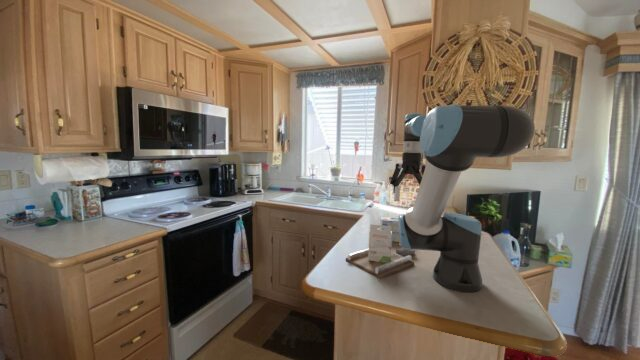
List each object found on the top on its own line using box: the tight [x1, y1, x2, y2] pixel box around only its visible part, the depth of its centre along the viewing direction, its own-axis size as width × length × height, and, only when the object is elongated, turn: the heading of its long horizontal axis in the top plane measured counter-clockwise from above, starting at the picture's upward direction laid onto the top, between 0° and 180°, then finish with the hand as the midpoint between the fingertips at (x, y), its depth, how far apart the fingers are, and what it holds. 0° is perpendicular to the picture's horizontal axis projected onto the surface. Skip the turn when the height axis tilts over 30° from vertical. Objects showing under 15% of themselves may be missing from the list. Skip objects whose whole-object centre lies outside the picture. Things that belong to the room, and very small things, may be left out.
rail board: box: [345, 252, 415, 279], centre depth 105 cm, size 18×20×1 cm
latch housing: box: [395, 246, 416, 257], centre depth 115 cm, size 6×6×2 cm
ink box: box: [368, 223, 393, 263], centre depth 104 cm, size 9×5×15 cm, turn 70°
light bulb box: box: [379, 216, 400, 243], centre depth 132 cm, size 11×7×11 cm, turn 84°
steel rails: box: [347, 247, 413, 274], centre depth 105 cm, size 15×20×2 cm
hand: (408, 203), depth 112 cm, fingers open, 11 cm apart
